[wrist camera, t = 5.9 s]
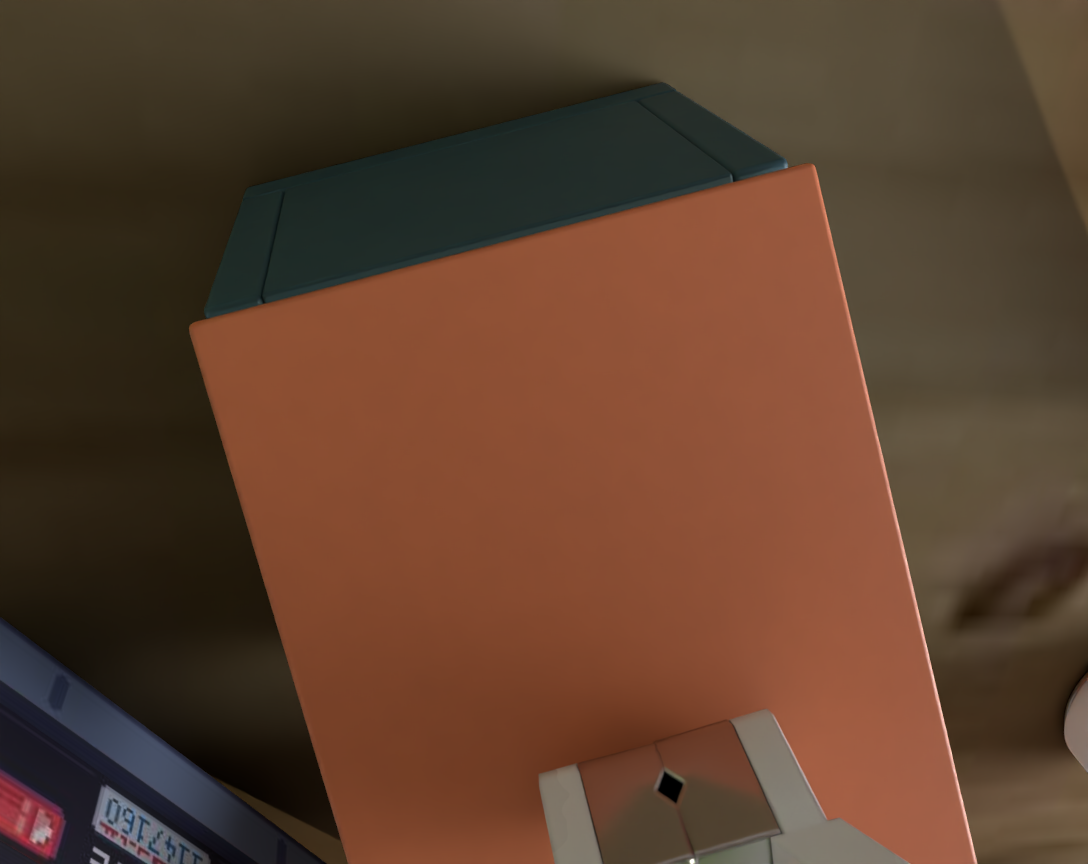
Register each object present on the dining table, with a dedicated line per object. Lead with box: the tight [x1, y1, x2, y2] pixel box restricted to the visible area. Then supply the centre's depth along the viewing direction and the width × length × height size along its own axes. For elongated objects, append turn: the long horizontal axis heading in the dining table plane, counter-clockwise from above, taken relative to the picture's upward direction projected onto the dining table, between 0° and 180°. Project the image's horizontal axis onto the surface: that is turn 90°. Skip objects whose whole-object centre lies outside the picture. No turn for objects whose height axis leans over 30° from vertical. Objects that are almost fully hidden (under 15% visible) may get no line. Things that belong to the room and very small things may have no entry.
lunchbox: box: [204, 83, 788, 319], centre depth 18 cm, size 12×8×6 cm
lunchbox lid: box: [189, 163, 977, 864], centre depth 12 cm, size 12×8×1 cm
